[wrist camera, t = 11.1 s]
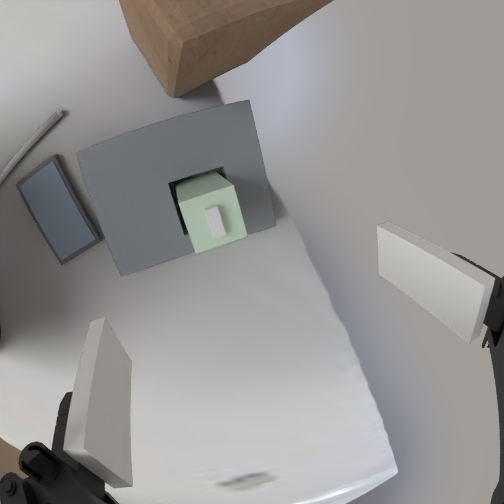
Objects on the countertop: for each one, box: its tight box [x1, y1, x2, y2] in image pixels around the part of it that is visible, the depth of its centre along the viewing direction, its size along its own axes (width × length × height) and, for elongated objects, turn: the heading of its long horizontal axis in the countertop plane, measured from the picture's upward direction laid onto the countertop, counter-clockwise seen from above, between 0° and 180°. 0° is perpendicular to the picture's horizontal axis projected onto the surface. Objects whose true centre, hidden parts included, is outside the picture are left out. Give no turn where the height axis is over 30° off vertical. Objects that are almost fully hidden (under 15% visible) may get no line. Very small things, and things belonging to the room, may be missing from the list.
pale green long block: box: [175, 171, 248, 254], centre depth 28 cm, size 4×4×10 cm
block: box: [119, 0, 333, 98], centre depth 16 cm, size 10×10×20 cm
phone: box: [16, 154, 102, 265], centre depth 28 cm, size 6×11×1 cm, turn 23°
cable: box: [0, 110, 63, 184], centre depth 24 cm, size 13×1×1 cm, turn 123°
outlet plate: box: [76, 100, 277, 276], centre depth 30 cm, size 18×14×2 cm
